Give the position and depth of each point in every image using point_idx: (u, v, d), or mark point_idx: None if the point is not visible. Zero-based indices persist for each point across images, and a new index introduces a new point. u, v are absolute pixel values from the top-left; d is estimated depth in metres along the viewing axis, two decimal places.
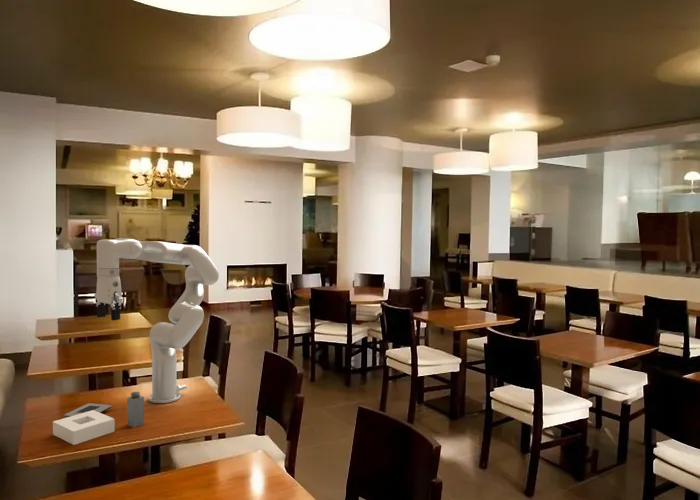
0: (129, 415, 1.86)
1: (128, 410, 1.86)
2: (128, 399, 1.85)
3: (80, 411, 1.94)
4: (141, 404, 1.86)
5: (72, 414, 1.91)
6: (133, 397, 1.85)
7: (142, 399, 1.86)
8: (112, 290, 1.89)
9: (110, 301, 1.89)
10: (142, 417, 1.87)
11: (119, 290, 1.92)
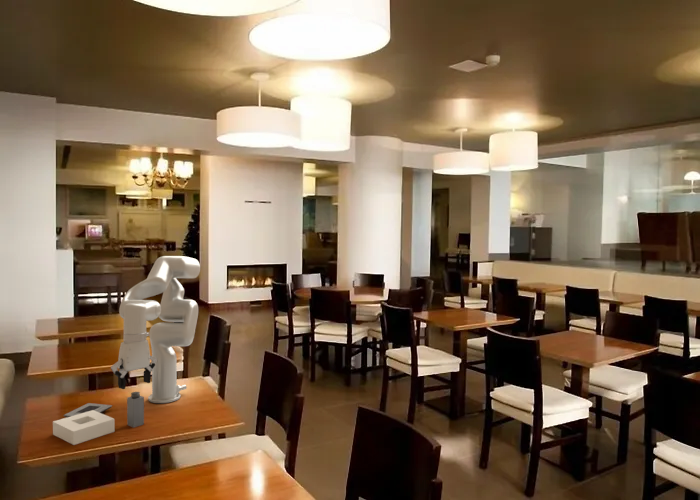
0: (129, 415, 1.86)
1: (128, 410, 1.86)
2: (128, 399, 1.85)
3: (80, 411, 1.94)
4: (141, 404, 1.86)
5: (72, 414, 1.91)
6: (133, 397, 1.85)
7: (142, 399, 1.86)
8: None
9: (149, 364, 1.88)
10: (142, 417, 1.87)
11: None
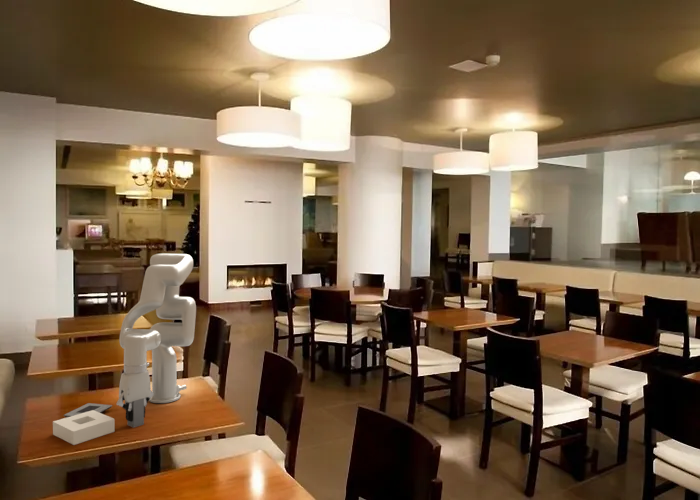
0: None
1: None
2: None
3: (80, 411, 1.94)
4: (141, 404, 1.86)
5: (72, 414, 1.91)
6: None
7: (142, 399, 1.86)
8: None
9: (150, 393, 1.89)
10: (142, 417, 1.87)
11: None
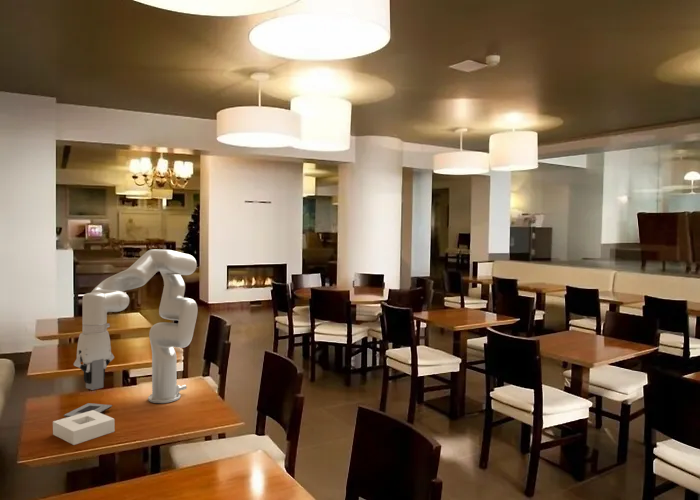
0: None
1: None
2: None
3: (80, 411, 1.94)
4: (101, 366, 1.79)
5: (72, 414, 1.91)
6: None
7: (102, 361, 1.79)
8: None
9: (110, 356, 1.82)
10: (101, 380, 1.79)
11: None
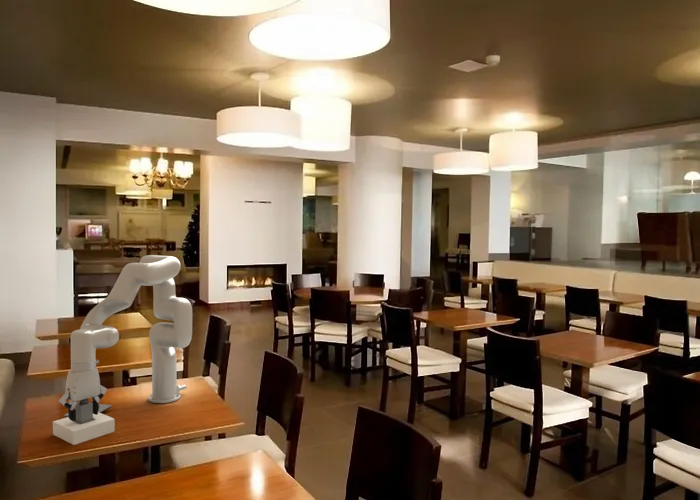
0: (76, 422, 1.78)
1: (76, 416, 1.78)
2: (76, 405, 1.77)
3: None
4: (90, 410, 1.78)
5: None
6: (81, 403, 1.77)
7: (91, 405, 1.78)
8: None
9: (99, 392, 1.81)
10: None
11: None
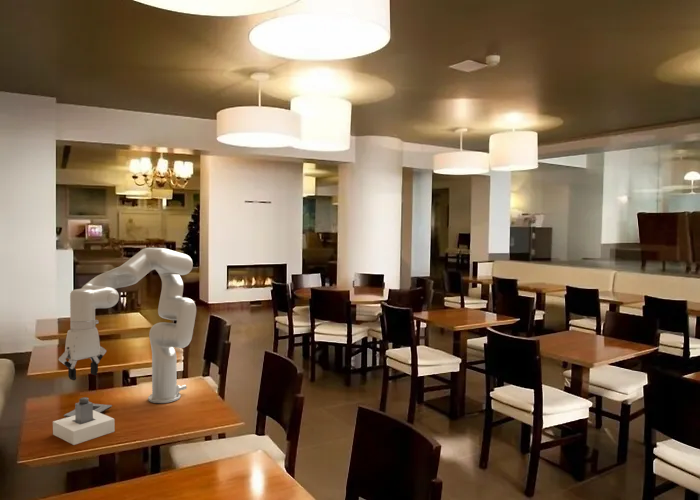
0: (76, 422, 1.78)
1: (76, 416, 1.78)
2: (76, 405, 1.77)
3: None
4: (90, 410, 1.78)
5: (72, 414, 1.91)
6: (81, 403, 1.77)
7: (91, 405, 1.78)
8: None
9: (99, 352, 1.80)
10: None
11: None
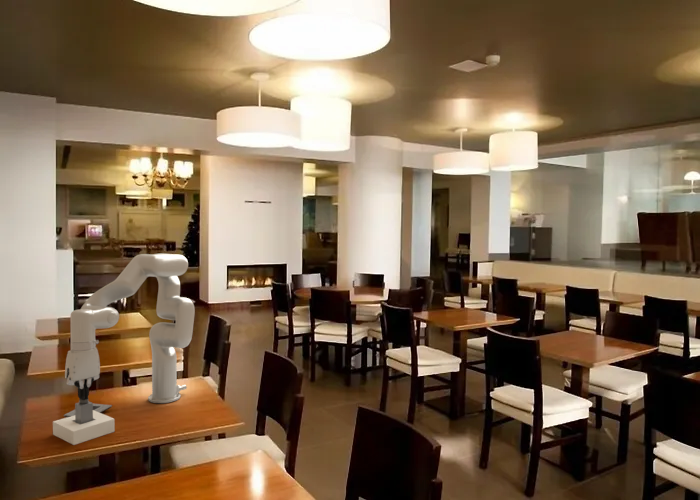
0: (76, 422, 1.78)
1: (76, 417, 1.78)
2: (76, 405, 1.77)
3: None
4: (90, 410, 1.78)
5: (72, 414, 1.91)
6: (81, 403, 1.77)
7: (91, 405, 1.78)
8: None
9: (99, 372, 1.80)
10: None
11: None
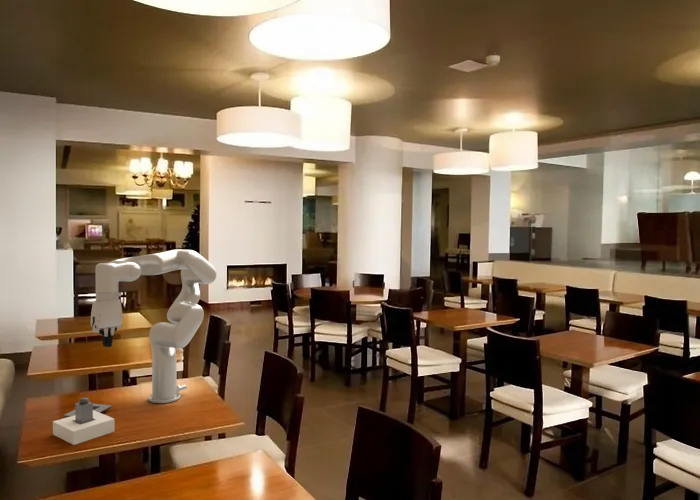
0: (76, 422, 1.78)
1: (76, 416, 1.78)
2: (76, 405, 1.77)
3: None
4: (90, 410, 1.78)
5: (72, 414, 1.91)
6: (81, 403, 1.77)
7: (91, 405, 1.78)
8: None
9: (121, 322, 1.93)
10: None
11: None
